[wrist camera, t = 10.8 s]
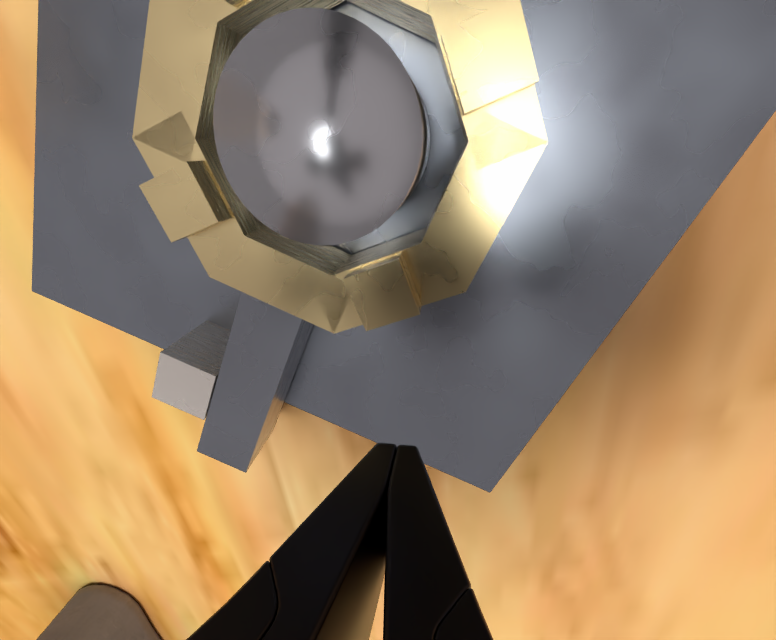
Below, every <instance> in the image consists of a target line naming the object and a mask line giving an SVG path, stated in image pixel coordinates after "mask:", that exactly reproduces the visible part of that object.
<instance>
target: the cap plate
mask: <svg viewBox="0 0 776 640" xmlns="http://www.w3.org/2000/svg"><path fill="white" fill-rule="evenodd" d="M149 2H150V0H39V2H38V46H37V90H36V133H35V177H34V221H33V265H32V291H33V292H35V293H38V294H40V295H42V296H45V297H47V298H49V299H51V300H54V301H56V302H58V303H60V304H63V305H65V306H67V307H70V308H72V309H74V310H76V311H79V312H81V313H83V314H85V315H88V316H90V317H92V318H95V319H97V320H99V321H101V322H104V323H106V324H108V325H110V326H113V327H115V328H117V329H120V330H122V331H124V332H126V333H129V334H131V335H133V336H135V337H138V338H140V339H142V340H145V341H147V342H149V343H151V344H154V345H156V346H158V347H160V348H163V349H164V350H163V351H161V352H160V357H159V362H158V367H157V373H156V378H155V383H154V388H153V394H152V397H153V398H155V399H157V400H160V401H162V402H164V403H166V404H169V405H171V406H173V407H176V408H178V409H180V410H182V411H185V412H187V413H189V414H192V415H194V416H196V417H199V418H201V419H203V420H204V419H205V418H206V417H207V413H208V410H209V406H210V403H211V399H212V396H213V392H214V389H215V385H216V382H217V378H218V374H219V371H220V367H221V364H222V360H223V357H224V353H225V350H226V346H227V343H228V339H229V336H230V332H231V328H232V325H233V321H234V318H235V314H236V311H237V307H238V304H239V300H240V297H241V293H242V292H241V291H239V290H237V289H235V288H232V287H230V286H228V285H226V284H224V283H221V282H219V281H217V280H215V279H213V278H210V277H209V275H208V274H207V272H206V270H205V268H204V266H203V265H202V263H201V261H200V259H199V257H198V256H197V254H196V252H195V250H194V248H193V247H192V245H191V243H190V241H189V239H188V238H184V239H181V240H178V241H175V242H172V243H171V241H170V239H169V238H168V236H167V234H166V232H165V231H164V229H163V227H162V225H161V224H160V222H159V220H158V218H157V217H156V215H155V213H154V211H153V210H152V208H151V206H150V204H149V203H148V201H147V199H146V197H145V196H144V194H143V192H142V190H141V189H140V187H139V185H141V184H143V183H145V182H147V181H149V180H151V179H153V178H154V176H153V175H152V173H151V171H150V169H149V167H148V166H147V164H146V162H145V160H144V158H143V156H142V155H141V153H140V151H139V149H138V147H137V146H136V144H135V142H134V140H133V138H132V135H133V127H134V119H135V111H136V104H137V96H138V88H139V80H140V72H141V64H142V57H143V49H144V41H145V33H146V25H147V17H148V10H149ZM520 2H521V6H522V10H523V14H524V19H525V23H526V27H527V31H528V36H529V40H530V44H531V48H532V53H533V57H534V61H535V65H536V70H537V74H538V78H539V81H538V82H537V83H535V84H534V86H535V90H536V94H537V98H538V102H539V106H540V111H541V115H542V119H543V123H544V127H545V131H546V136H547V140H548V143H547V145H546V147H545V149H544V151H543V152H542V154H541V156H540V158H539V160H538V162H537V163H536V165H535V167H534V169H533V171H532V172H531V174H530V176H529V178H528V180H527V182H526V183H525V185H524V187H523V189H522V191H521V192H520V194H519V196H518V198H517V200H516V202H515V203H514V205H513V207H512V209H511V211H510V212H509V214H508V216H507V218H506V220H505V221H504V223H503V225H502V227H501V229H500V231H499V232H498V234H497V236H496V238H495V240H494V241H493V243H492V245H491V247H490V249H489V251H488V252H487V254H486V256H485V258H484V260H483V261H482V263H481V265H480V267H479V269H478V271H477V272H476V274H475V276H474V278H473V280H472V281H471V283H470V285H469V287H468V289H467V291H466V292H464V293H461V294H458V295H455V296H452V297H448V298H445V299H442V300H439V301H436V302H433V303H430V304H426V305H423V306H422V307H421V312H420V315H417V316H414V317H410V318H407V319H404V320H401V321H398V322H394V323H391V324H388V325H385V326H381V327H378V328H375V329H372V330H369V331H366V330H365V328H364V326H363V325H360V326H357V327H354V328H351V329H348V330H344V331H341V332H338V333H335V334H334V333H331V332H329V331H327V330H325V329H323V328H320V327H318V326H316V325H313V327H312V330H311V333H310V335H309V338H308V340H307V343H306V346H305V348H304V351H303V353H302V356H301V359H300V361H299V364H298V366H297V369H296V372H295V374H294V377H293V380H292V382H291V385H290V387H289V390H288V393H287V395H286V398H285V400H284V402H286V403H288V404H290V405H292V406H295V407H297V408H299V409H301V410H304V411H306V412H308V413H311V414H313V415H315V416H317V417H320V418H322V419H324V420H326V421H329V422H331V423H333V424H336V425H338V426H340V427H342V428H345V429H347V430H349V431H351V432H354V433H356V434H358V435H361V436H363V437H365V438H367V439H370V440H372V441H374V442H376V443H392V444H396V446H398V445H400V444H404V445H414V446H416V447H417V448H418V450H419V452H420V455H421V458H422V460H423V463H424V464H426V465H429V466H431V467H433V468H436V469H438V470H440V471H442V472H445V473H447V474H449V475H451V476H454V477H456V478H458V479H461V480H463V481H465V482H467V483H470V484H472V485H474V486H476V487H479V488H481V489H483V490H486V491H488V492H491V491H492V489H493V488H494V487H495V485H496V484H497V483H498V481H499V480H500V479H501V477H502V476H503V475H504V473H505V472H506V471H507V469H508V468H509V467H510V465H511V464H512V463H513V461H514V460H515V459H516V457H517V456H518V455H519V453H520V452H521V451H522V449H523V448H524V446H525V445H526V444H527V442H528V441H529V440H530V438H531V437H532V436H533V434H534V433H535V432H536V430H537V429H538V428H539V426H540V425H541V424H542V422H543V421H544V420H545V418H546V417H547V416H548V414H549V413H550V412H551V410H552V409H553V408H554V406H555V405H556V404H557V402H558V401H559V400H560V398H561V397H562V396H563V394H564V393H565V392H566V390H567V389H568V388H569V386H570V385H571V384H572V382H573V381H574V380H575V378H576V377H577V376H578V374H579V373H580V372H581V370H582V369H583V368H584V366H585V365H586V364H587V362H588V361H589V360H590V358H591V357H592V356H593V354H594V353H595V352H596V350H597V349H598V347H599V346H600V345H601V343H602V342H603V341H604V339H605V338H606V337H607V335H608V334H609V333H610V331H611V330H612V329H613V327H614V326H615V325H616V323H617V322H618V321H619V319H620V318H621V317H622V315H623V314H624V313H625V311H626V310H627V309H628V307H629V306H630V305H631V303H632V302H633V301H634V299H635V298H636V297H637V295H638V294H639V293H640V291H641V290H642V289H643V287H644V286H645V285H646V283H647V282H648V281H649V279H650V278H651V277H652V275H653V274H654V273H655V271H656V270H657V269H658V267H659V266H660V265H661V263H662V262H663V261H664V259H665V258H666V257H667V255H668V254H669V253H670V251H671V250H672V248H673V247H674V246H675V244H676V243H677V242H678V240H679V239H680V238H681V236H682V235H683V234H684V232H685V231H686V230H687V228H688V227H689V226H690V224H691V223H692V222H693V220H694V219H695V218H696V216H697V215H698V214H699V212H700V211H701V210H702V208H703V207H704V206H705V204H706V203H707V202H708V200H709V199H710V198H711V196H712V195H713V194H714V192H715V191H716V190H717V188H718V187H719V186H720V184H721V183H722V182H723V180H724V179H725V178H726V176H727V175H728V174H729V172H730V171H731V170H732V168H733V167H734V166H735V164H736V163H737V162H738V160H739V159H740V158H741V156H742V155H743V154H744V152H745V151H746V149H747V148H748V147H749V145H750V144H751V143H752V141H753V140H754V139H755V137H756V136H757V135H758V133H759V132H760V131H761V129H762V128H763V127H764V125H765V124H766V123H767V121H768V120H769V119H770V117H771V116H772V115H773V113H774V112H775V111H776V0H520ZM213 127H214V138H215V143H216V148H217V153H218V156H219V159H220V163H221V166H222V168H223V171H224V173H225V175H226V178H227V180H228V182H229V184H230V185H231V187H232V189H233V190H234V192H235V194H236V195H237V197H238V198H239V199H240V201H241V202H242V203H243V205H244V206H245V207H246V208H247V209H248V210H249V211H250V212H251V213H252V215H254V216H255V217H256V218H257V219H258V220H259V221H260V222H262V223H263V224H264V225H266V226H267V227H269V228H270V229H271V230H273V231H275V232H277V233H278V234H280V235H282V236H284V237H286V238H289V239H292V240H294V241H297V242H301V243H306V244H311V245H321V246H322V245H331V246H333V247H335V248H337V249H339V250H341V251H344V252H346V253H348V254H350V255H353V254H356V253H359V252H361V251H364V250H367V249H370V248H372V247H375V246H378V245H380V244H383V243H386V242H388V241H391V240H394V239H396V238H399V237H402V236H404V235H407V234H410V233H413V232H415V231H418V230H421V229H423V228H426V227H427V225H428V223H429V221H430V219H431V217H432V214H433V212H434V210H435V208H436V206H437V204H438V202H439V199H440V197H441V195H442V193H443V191H444V189H445V187H446V184H447V182H448V180H449V178H450V176H451V174H452V172H453V170H454V167H455V165H456V163H457V161H458V159H459V157H460V155H461V152H462V150H463V148H464V146H465V144H466V142H465V139H464V136H463V132H462V129H461V126H460V122H459V119H458V116H457V113H456V109H455V106H454V103H453V99H452V96H451V93H450V89H449V86H448V83H447V79H446V76H445V73H444V70H443V66H442V63H441V60H440V56H439V53H438V50H437V46H436V43H434V42H432V41H430V40H428V39H426V38H424V37H422V36H419V35H417V34H415V33H413V32H411V31H409V30H407V29H405V28H403V27H401V26H399V25H397V24H394V23H392V22H390V21H388V20H386V19H384V18H382V17H380V16H378V15H376V14H374V13H372V12H370V11H367V10H365V9H363V8H361V7H359V6H357V5H355V4H353V3H351V2H349V1H347V0H345V1H343V2H341V3H340V4H338V5H336V6H334V7H332V8H331V9H329V10H328V9H323V8H299V9H292V10H288V11H285V12H282V13H278V14H276V15H274V16H272V17H270V18H268V19H266V20H264V21H263V22H261V23H260V24H258V25H257V26H256V27H254V28H253V29H252V30H251V31H250V32H249V33H248V34H246V35H245V36H244V37H243V38H242V39H241V41H240V42H239V43H238V45H237V46H236V47H235V49H234V50H233V51H232V53H231V55H230V56H229V58H228V60H227V62H226V64H225V66H224V68H223V71H222V73H221V76H220V78H219V82H218V86H217V90H216V93H215V101H214V108H213Z"/></svg>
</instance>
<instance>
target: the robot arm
mask: <svg viewBox="0 0 776 640" xmlns="http://www.w3.org/2000/svg"><path fill="white" fill-rule="evenodd" d="M269 560H270V562H269V561H266V562H265V563H264V564H263V565H262V566H261V567H260V569H259V570H258V571H257V572H256V573H255V574H254V575H253V576H252V577H251V578H250V579H249V580H248V581H247V582H246V583H245V584H244V585H243V586H242V587H241V588H240V589H239V590H238V591H237V592H236V593H235V594H234V595H233V596H232V597H231V598H230V599H229V600H228V601H227V602H226V603H225V604H224V605H223V606H222V607H221V608H220V609H219V610H218V611H217V612H216V613H215V614H214V615H213V616H211V617H210V618H209V619H208V620H207V621H206V622H205V623H204V624H203V625H202V626H201V627H200V628H198V629H197V630H196V631H195V632H194V633H193V634H192V635H191V636H190V637H189V638H187V639H186V640H369V637H370V633H371V629H372V624H373V620H374V616H375V612H376V608H377V603H378V599H379V595H380V591H381V586H382V582H383V578H384V574H385V589H384V627H383V640H493V638H492V635H491V633H490V631H489V628H488V626H487V623H486V621H485V619H484V616H483V614H482V612H481V609H480V607H479V604H478V601H477V599H476V596H475V594H474V591H473V589H471V584H470V581H469V579H468V576H467V574H466V571H465V568H464V566H463V563H462V561H461V558H460V556H459V553H458V550H457V548H456V545H455V543H454V540H453V538H452V535H451V532H450V530H449V527H448V525H447V522H446V519H445V517H444V514H443V512H442V509H441V507H440V504H439V501H438V499H437V496H436V494H435V491H434V489H433V486H432V483H431V481H430V478H429V476H428V473H427V470H426V468H425V465H424V463H423V460H422V458H421V455H420V452H419V450H418V448H417V447H416V446H414V445H404V444H400V445H398V446H396V444H392V443H377V444H376V445H375V446H374V447H373V448H372V449H371V450H370V451H369V453H368V454H367V455H366V456H365V457H364V458H363V459H362V460H361V461H360V462H359V463H358V464H357V465H356V466H355V467H354V469H353V470H352V471H351V472H350V473H349V474H348V475H347V476H346V477H345V478H344V479H343V480H342V481H341V482H340V483H339V485H338V486H337V487H336V488H335V489H334V490H333V491H332V492H331V493H330V494H329V495H328V496H327V497H326V498H325V499H324V501H323V502H322V503H321V504H320V505H319V506H318V507H317V508H316V509H315V510H314V511H313V512H312V513H311V514H310V515H309V517H308V518H307V519H306V520H305V521H304V522H303V523H302V524H301V525H300V526H299V527H298V528H297V529H296V530H295V531H294V533H293V534H292V535H291V536H290V537H289V538H288V539H287V540H286V541H285V542H284V543H283V544H282V545H281V546H280V547H279V549H278V550H277V551H276V552H275V553H274V554H273V555H272V556H271V557H270V559H269Z"/></svg>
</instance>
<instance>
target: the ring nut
mask: <svg viewBox="0 0 776 640" xmlns="http://www.w3.org/2000/svg"><path fill="white" fill-rule="evenodd" d="M343 1H345V0H150V2H149V10H148V17H147V25H146V33H145V41H144V49H143V57H142V64H141V72H140V80H139V88H138V96H137V104H136V111H135V119H134V127H133V135H132V138H133V140H134V142H135V144H136V146H137V147H138V149H139V151H140V153H141V155H142V156H143V158H144V160H145V162H146V164H147V166H148V167H149V169H150V171H151V173H152V175H153V176H154V178H153V179H151V180H149V181H147V182H145V183H143V184H141V185H139V187H140V189H141V190H142V192H143V194H144V196H145V197H146V199H147V201H148V203H149V204H150V206H151V208H152V210H153V211H154V213H155V215H156V217H157V218H158V220H159V222H160V224H161V225H162V227H163V229H164V231H165V232H166V234H167V236H168V238H169V239H170V241H171V243H172V242H175V241H178V240H181V239H184V238H188V239H189V241H190V243H191V245H192V247H193V248H194V250H195V252H196V254H197V256H198V257H199V259H200V261H201V263H202V265H203V266H204V268H205V270H206V272H207V274H208V275H209V277H210V278H213V279H215V280H217V281H219V282H221V283H224V284H226V285H228V286H230V287H232V288H235V289H237V290H239V291H241V292H242V293H241V297H240V300H239V304H238V307H237V311H236V314H235V318H234V321H233V325H232V328H231V332H230V336H229V339H228V343H227V346H226V350H225V353H224V357H223V360H222V364H221V367H220V371H219V374H218V378H217V382H216V385H215V389H214V392H213V396H212V399H211V403H210V406H209V410H208V413H207V417H206V420H205V424H204V428H203V431H202V435H201V438H200V442H199V445H198V449H197V451H198V452H200V453H202V454H205V455H207V456H209V457H211V458H214V459H216V460H218V461H221V462H223V463H225V464H227V465H230V466H232V467H234V468H236V469H239V470H241V471H243V472H245V473H246V472H247V470H248V469H249V467H250V465H251V464H252V462H253V461H254V459H255V458H256V456H257V455H258V453H259V451H260V450H261V448H262V447H263V445H264V444H265V442H266V441H267V439H268V437H269V436H270V434H271V433H272V431H273V429H274V427H275V424H276V421H277V419H278V416H279V413H280V411H281V408H282V406H283V403H284V400H285V398H286V395H287V393H288V390H289V387H290V385H291V382H292V380H293V377H294V374H295V372H296V369H297V366H298V364H299V361H300V359H301V356H302V353H303V351H304V348H305V346H306V343H307V340H308V338H309V335H310V333H311V330H312V327H313V325H316V326H318V327H320V328H323V329H325V330H327V331H329V332H331V333H334V334H335V333H338V332H341V331H344V330H348V329H351V328H354V327H357V326H360V325H363V326H364V328H365V330H366V331H369V330H372V329H375V328H378V327H381V326H385V325H388V324H391V323H394V322H398V321H401V320H404V319H407V318H410V317H414V316H417V315H420V312H421V307H422V306H423V305H426V304H430V303H433V302H436V301H439V300H442V299H445V298H448V297H452V296H455V295H458V294H461V293H464V292H466V291H467V289H468V287H469V285H470V283H471V281H472V280H473V278H474V276H475V274H476V272H477V271H478V269H479V267H480V265H481V263H482V261H483V260H484V258H485V256H486V254H487V252H488V251H489V249H490V247H491V245H492V243H493V241H494V240H495V238H496V236H497V234H498V232H499V231H500V229H501V227H502V225H503V223H504V221H505V220H506V218H507V216H508V214H509V212H510V211H511V209H512V207H513V205H514V203H515V202H516V200H517V198H518V196H519V194H520V192H521V191H522V189H523V187H524V185H525V183H526V182H527V180H528V178H529V176H530V174H531V172H532V171H533V169H534V167H535V165H536V163H537V162H538V160H539V158H540V156H541V154H542V152H543V151H544V149H545V147H546V145H547V143H548V140H547V136H546V131H545V127H544V123H543V119H542V115H541V111H540V106H539V102H538V98H537V94H536V90H535V86H534V84H535V83H537V82H538V81H539V78H538V74H537V70H536V65H535V61H534V57H533V53H532V48H531V44H530V40H529V36H528V31H527V27H526V23H525V19H524V14H523V10H522V6H521V2H520V0H347V1H349V2H351V3H353V4H355V5H357V6H359V7H361V8H363V9H365V10H367V11H370V12H372V13H374V14H376V15H378V16H380V17H382V18H384V19H386V20H388V21H390V22H392V23H394V24H397V25H399V26H401V27H403V28H405V29H407V30H409V31H411V32H413V33H415V34H417V35H419V36H422V37H424V38H426V39H428V40H430V41H432V42H434V43H436V46H437V50H438V53H439V56H440V60H441V63H442V66H443V70H444V73H445V76H446V79H447V83H448V86H449V89H450V93H451V96H452V99H453V103H454V106H455V109H456V113H457V116H458V119H459V122H460V126H461V129H462V132H463V136H464V139H465V142H466V144H465V146H464V148H463V150H462V152H461V155H460V157H459V159H458V161H457V163H456V165H455V167H454V170H453V172H452V174H451V176H450V178H449V180H448V182H447V184H446V187H445V189H444V191H443V193H442V195H441V197H440V199H439V202H438V204H437V206H436V208H435V210H434V212H433V214H432V217H431V219H430V221H429V223H428V225H427V227H426V228H423V229H421V230H418V231H415V232H413V233H410V234H407V235H404V236H402V237H399V238H396V239H394V240H391V241H388V242H386V243H383V244H380V245H378V246H375V247H372V248H370V249H367V250H364V251H361V252H359V253H356V254H353V255H350V254H348V253H346V252H344V251H341V250H339V249H337V248H335V247H333V246H331V245H322V246H321V245H311V244H306V243H301V242H297V241H294V240H292V239H289V238H286V237H284V236H282V235H280V234H278V233H277V232H275V231H273V230H271V229H270V228H269V227H267V226H266V225H264V224H263V223H262V222H260V221H259V220H258V219H257V218H256V217H255V216H254V215H252V213H251V212H250V211H249V210H248V209H247V208H246V207H245V206H244V205H243V203H242V202H241V201H240V199H239V198H238V197H237V195H236V194H235V192H234V190H233V189H232V187H231V185H230V184H229V182H228V180H227V178H226V175H225V173H224V171H223V168H222V166H221V163H220V159H219V156H218V153H217V148H216V143H215V138H214V127H213V108H214V101H215V93H216V90H217V86H218V82H219V78H220V76H221V73H222V71H223V68H224V66H225V64H226V62H227V60H228V58H229V56H230V55H231V53H232V51H233V50H234V49H235V47H236V46H237V45H238V43H239V42H240V41H241V39H242V38H243V37H244V36H245V35H246V34H248V33H249V32H250V31H251V30H252V29H253V28H254V27H256V26H257V25H258V24H260V23H261V22H263V21H264V20H266V19H268V18H270V17H272V16H274V15H276V14H278V13H282V12H285V11H288V10H292V9H299V8H323V9H328V10H329V9H331V8H332V7H334V6H336V5H338V4H340V3H341V2H343Z"/></svg>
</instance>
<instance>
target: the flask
mask: <svg viewBox="0 0 776 640" xmlns="http://www.w3.org/2000/svg"><path fill="white" fill-rule="evenodd" d="M37 640H161V639H160V637H159V636H158V635H157V633H156V632H155V630H154V629H153V628H152V626H151V624H150V623H149V621H148V619H147V617H146V616H145V614H144V612H143V611H142V609H141V607H140V606H139V604H138V603H137V602H136V601H135V600H134V599H133V598H132V597H131V596H130V595H128V594H127V593H125V592H123V591H121V590H119V589H117V588H114V587H111V586H107V585H90V586H86V587H84V588H82V589H79V590H78V591H77V593H76V594H75V595H74V596H73V597H72V598H71V600H70V601H69V602H68V603H67V604H66V606H65V607H64V608H63V609H62V610H61V611H60V613H59V614H58V615H57V616H56V617H55V618H54V620H53V621H52V622H51V623H50V624H49V625H48V627H47V628H46V629H45V630H44V631H43V633H42V634H41V635H40V636H39V637H38V638H37Z"/></svg>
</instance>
